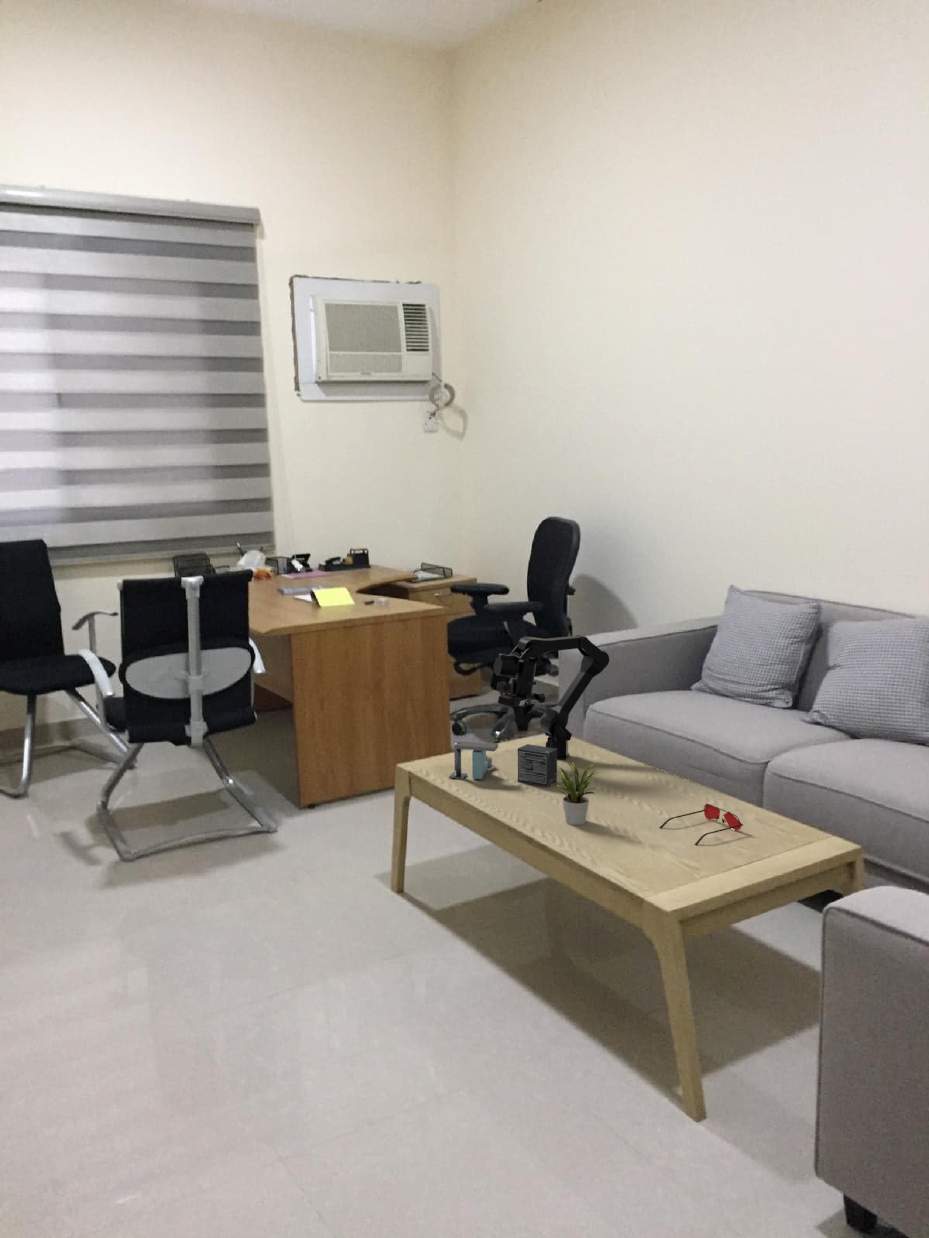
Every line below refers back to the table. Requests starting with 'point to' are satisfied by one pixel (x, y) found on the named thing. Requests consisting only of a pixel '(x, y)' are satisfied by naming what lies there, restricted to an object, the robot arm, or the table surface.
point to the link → (480, 763)
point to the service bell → (490, 767)
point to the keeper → (468, 746)
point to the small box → (537, 765)
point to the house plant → (576, 795)
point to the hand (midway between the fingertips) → (518, 724)
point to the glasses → (714, 813)
